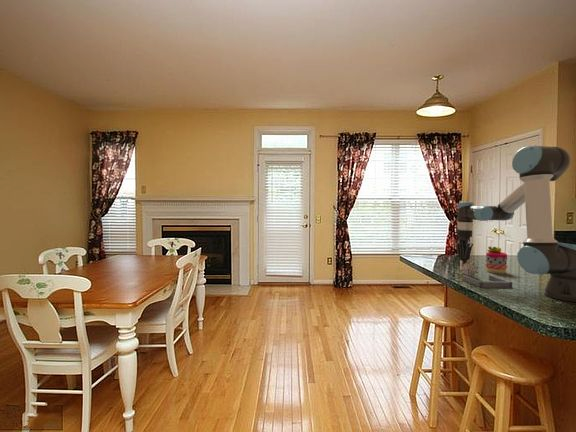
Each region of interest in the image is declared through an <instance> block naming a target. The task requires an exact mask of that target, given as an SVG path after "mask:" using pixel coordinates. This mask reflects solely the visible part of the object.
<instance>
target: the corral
mask: <svg viewBox="0 0 576 432" xmlns="http://www.w3.org/2000/svg"><path fill="white" fill-rule="evenodd" d="M461 280H462V281H465V282H467V283H469V284H471V285H474V286H477V287H479V288H513V282H512V281H510V280H506V279H504V278H501V277H497V276H495V275H492V274H488V281H481V280H478V279H476V278H473V277H471V276H467V275H465V274H464V275H463V274H462V277H461Z"/></svg>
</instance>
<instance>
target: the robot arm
mask: <svg viewBox="0 0 576 432" xmlns="http://www.w3.org/2000/svg"><path fill="white" fill-rule="evenodd" d="M511 160H512V161H511V167H512V169H513V170H514V172H515V173H517V174H518V175H519V180H520V181H521V182H522V183H520V185H518V186H517V187H516V188H515V189H514V190H513V191H512V192H511V193H509V194H508V195H507V196H506V197H505V198H504V199H502V201H501V202H499V204H497V205H475V204H474V202H473V201H460V202H458V206H457V221H456V222H457V227H456V228H457V230H456V237H458V240H455V243H456V249H457V250H456V251H457V258H458V259H459V263H460V265H459V272H461V273H463V272H462V271H460V270H461V268H462V266H461V265H463V264H464V262H465V263H468V262H467V261H470V258H471V253H472V248H473V246H474V243H472V242H471V238H472V237H473V226H474V221H480V222H483V221H484V222H485V221H487V222H488V221H501V222H502V221H503V222H504V221H509V220H511V219H513V218H514V215H515V211H517V210H518V209H519V208H520V207H521V206H523V205H524V204H525V221H526V222H525V223H526V236H527V237H526V238H525V240H523V243H522V244H523V246H522V247H520V248H519V250H518V251H517V254H516V258H517V259H516V260H517V262H518V264H519V266H520V267H521V269H523V270H524V272H526V273H529V274H532V275H541V276H543V275H549V279H548V281H547V284H546V286H545V287H544V289H543V291H544V292H543V294H544V296H546V297H549V298H553V299H555V300H559V301H565V302H573V303H574V302H575V303H576V244H571V243H564V242H559V241H558V240H556V239H555V238H554V236H553V235H554V234H553V233H554V232H553V218H552V203H551V202H552V201H551V200H552V199H551V188H550V185H551V182H556V181H557V180H558V179H559V178H561V177H562V176H563V175H564V174H565V173H566V172H567V170H568V169H569V167H570V165H571V156H570V153H569V152H568V151H567V150H565V149H564V148H563V147H558V146H546V145H545V146H543V145H536V144H535V145H527V146H523V147H521V148H520V149H519V150H517V152H516V153H514V155H513V158H512V159H511Z"/></svg>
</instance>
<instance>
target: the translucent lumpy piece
mask: <svg viewBox="0 0 576 432" xmlns="http://www.w3.org/2000/svg"><path fill="white" fill-rule="evenodd" d="M461 266H462V268H461V270H460V269H459V272H460V271H462V272H461V273H463V274H462V275H466V276H469V277H471V276H473V277H475V274H478V272H477V269H479V267H478V266H477V267H476V263H475V262H471V260H468V262H467V263H465V262H464V264H463V265H461Z"/></svg>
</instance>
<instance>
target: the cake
mask: <svg viewBox="0 0 576 432" xmlns="http://www.w3.org/2000/svg"><path fill="white" fill-rule="evenodd" d="M485 258H486V260H485V261H486V263H485V267H486V268H485V271H486V272H487V273H492V274H500V275H501V274H502V275H503V274H507V269H508V264H507V262H508V254H507V253H505V252H502V248H501V247H498V246H493V247H492V246H491V245H489V246H488V249H487V252H486V257H485Z"/></svg>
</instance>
